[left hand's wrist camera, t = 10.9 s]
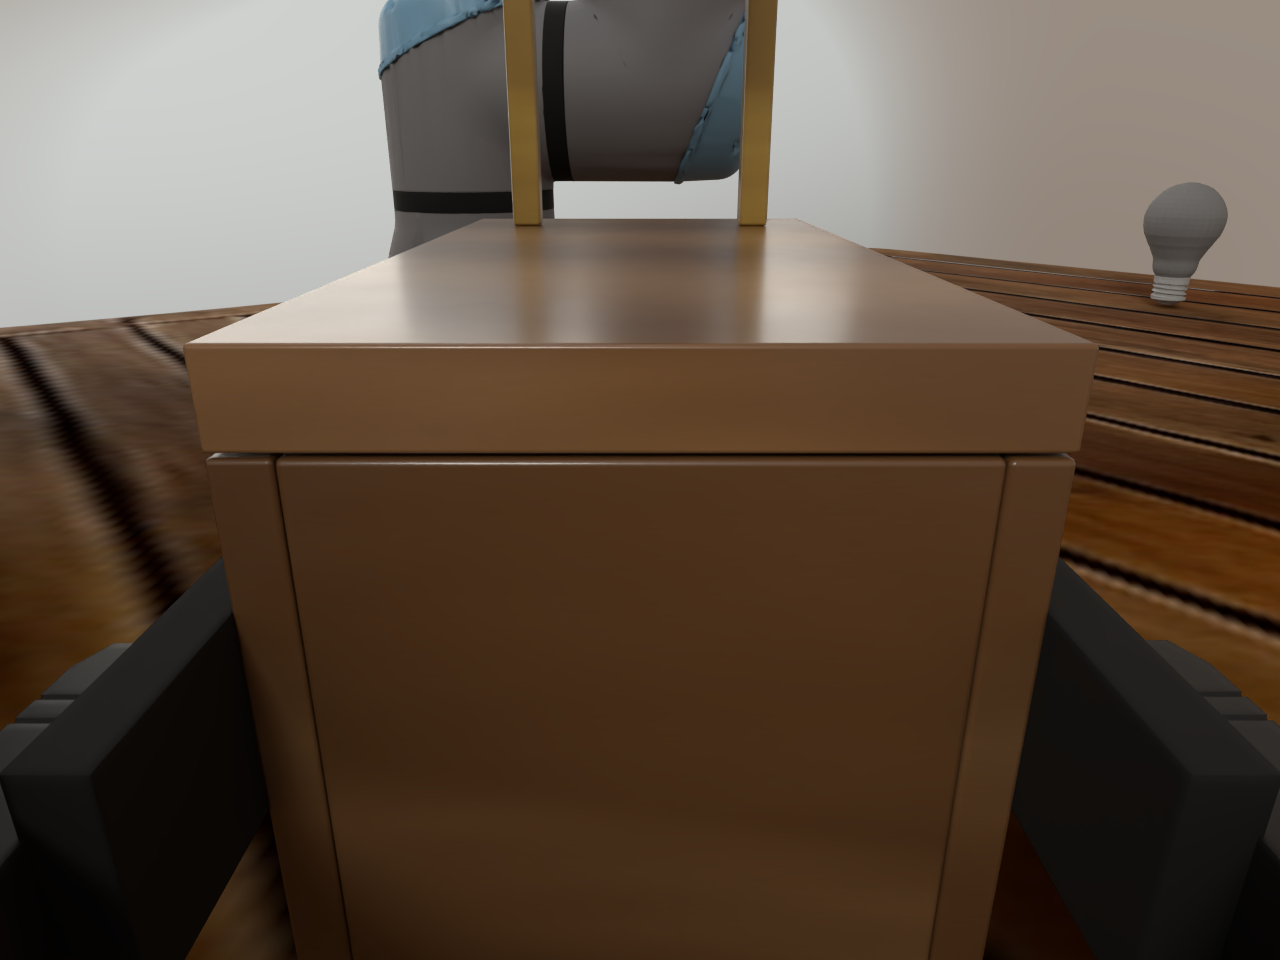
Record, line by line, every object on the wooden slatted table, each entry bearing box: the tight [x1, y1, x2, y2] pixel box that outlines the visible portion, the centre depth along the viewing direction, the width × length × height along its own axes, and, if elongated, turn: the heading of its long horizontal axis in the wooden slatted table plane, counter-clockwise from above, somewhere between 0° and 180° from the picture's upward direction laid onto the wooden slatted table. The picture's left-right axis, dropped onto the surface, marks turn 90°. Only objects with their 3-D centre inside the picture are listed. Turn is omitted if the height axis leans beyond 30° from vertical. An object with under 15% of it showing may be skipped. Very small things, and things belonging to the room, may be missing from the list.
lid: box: [183, 0, 1099, 453], centre depth 16 cm, size 17×9×8 cm, turn 0°
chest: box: [205, 453, 1075, 960], centre depth 18 cm, size 17×9×10 cm, turn 0°
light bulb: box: [1143, 183, 1228, 305], centre depth 74 cm, size 6×6×10 cm
